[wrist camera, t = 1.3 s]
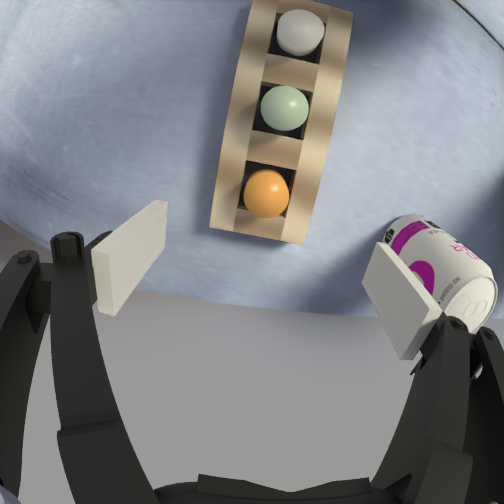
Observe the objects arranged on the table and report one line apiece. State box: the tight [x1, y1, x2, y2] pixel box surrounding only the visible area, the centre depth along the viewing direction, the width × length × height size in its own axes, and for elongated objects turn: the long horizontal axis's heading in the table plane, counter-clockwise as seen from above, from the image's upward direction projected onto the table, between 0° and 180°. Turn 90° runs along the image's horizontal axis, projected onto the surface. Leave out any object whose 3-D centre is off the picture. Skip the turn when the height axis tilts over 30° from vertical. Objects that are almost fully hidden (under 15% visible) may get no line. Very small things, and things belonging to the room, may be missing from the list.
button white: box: [277, 9, 324, 56], centre depth 19 cm, size 4×4×4 cm
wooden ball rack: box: [209, 0, 354, 245], centre depth 25 cm, size 26×10×3 cm, turn 169°
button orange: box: [244, 169, 289, 218], centre depth 26 cm, size 4×4×4 cm
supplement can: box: [382, 214, 498, 334], centre depth 25 cm, size 8×8×15 cm
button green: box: [261, 86, 309, 131], centre depth 23 cm, size 4×4×4 cm
